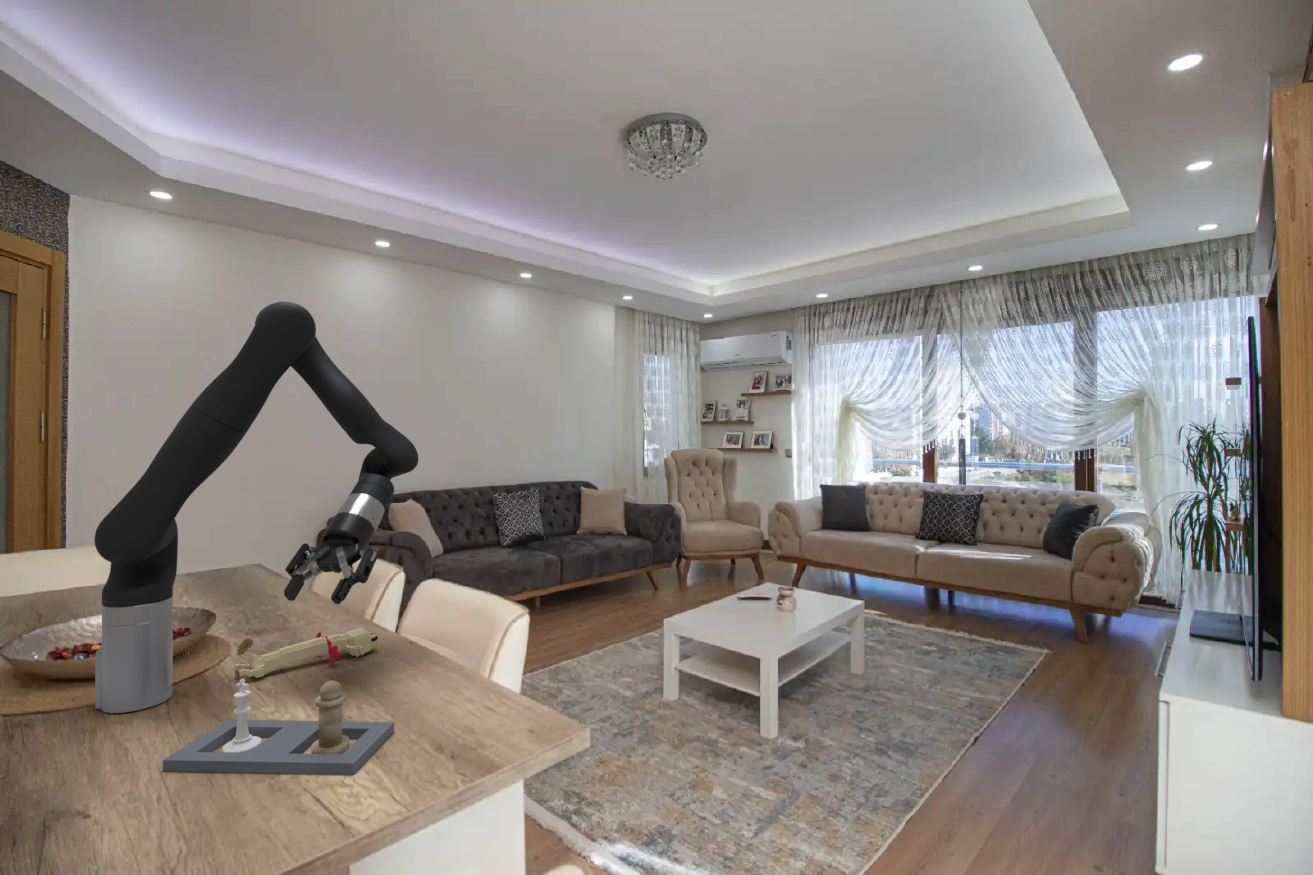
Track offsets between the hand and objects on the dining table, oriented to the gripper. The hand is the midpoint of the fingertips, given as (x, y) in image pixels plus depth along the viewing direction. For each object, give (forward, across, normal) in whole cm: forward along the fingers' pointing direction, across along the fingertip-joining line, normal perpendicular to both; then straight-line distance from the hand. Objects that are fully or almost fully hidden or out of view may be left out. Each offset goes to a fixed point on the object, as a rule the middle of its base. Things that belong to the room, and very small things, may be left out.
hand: (311, 600), depth 104 cm
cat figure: (+1, -12, +25) cm, 28 cm away
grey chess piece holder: (+22, +7, +2) cm, 24 cm away
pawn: (+22, +14, +3) cm, 26 cm away
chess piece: (+23, +1, +2) cm, 23 cm away
